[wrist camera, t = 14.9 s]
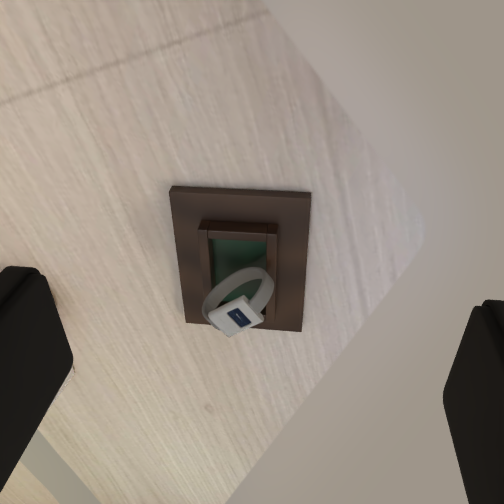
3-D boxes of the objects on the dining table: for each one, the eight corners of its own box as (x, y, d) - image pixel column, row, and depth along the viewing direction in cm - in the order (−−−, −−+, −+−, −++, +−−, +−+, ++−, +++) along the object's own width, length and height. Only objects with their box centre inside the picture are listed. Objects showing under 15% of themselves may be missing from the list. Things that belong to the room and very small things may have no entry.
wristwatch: (218, 302, 39) (213, 346, 35) (199, 282, 38) (191, 325, 34) (279, 272, 37) (281, 314, 33) (260, 249, 36) (260, 291, 32)
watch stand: (171, 185, 36) (163, 200, 34) (311, 192, 35) (310, 208, 33) (188, 315, 44) (181, 334, 42) (301, 324, 43) (300, 344, 41)
